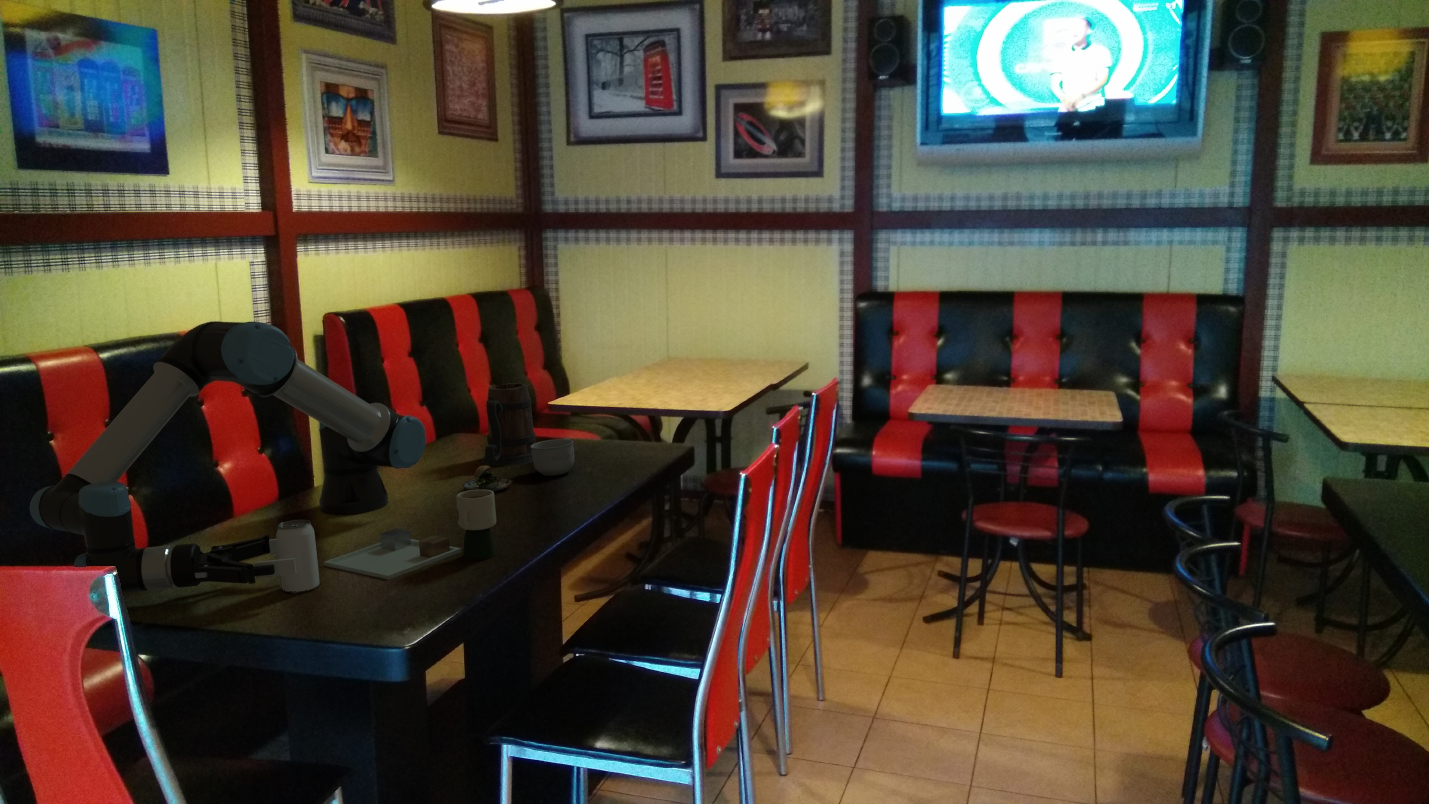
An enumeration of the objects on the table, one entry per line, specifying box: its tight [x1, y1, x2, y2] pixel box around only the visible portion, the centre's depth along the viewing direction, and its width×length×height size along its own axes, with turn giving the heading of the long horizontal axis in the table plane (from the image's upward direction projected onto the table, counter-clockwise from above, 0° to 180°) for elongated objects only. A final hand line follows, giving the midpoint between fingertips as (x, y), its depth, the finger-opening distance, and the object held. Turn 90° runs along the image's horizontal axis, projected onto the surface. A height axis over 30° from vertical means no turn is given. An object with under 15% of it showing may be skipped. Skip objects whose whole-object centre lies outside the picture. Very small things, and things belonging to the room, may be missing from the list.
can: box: [275, 519, 321, 592], centre depth 199 cm, size 6×6×12 cm
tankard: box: [481, 382, 537, 467], centre depth 295 cm, size 24×17×20 cm
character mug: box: [455, 490, 497, 561], centre depth 211 cm, size 11×7×13 cm, turn 166°
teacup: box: [531, 437, 575, 477], centre depth 281 cm, size 14×11×8 cm
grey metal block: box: [379, 528, 411, 551], centre depth 219 cm, size 4×4×3 cm
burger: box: [462, 460, 513, 492], centre depth 266 cm, size 12×12×8 cm
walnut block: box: [419, 535, 451, 558], centre depth 214 cm, size 4×4×3 cm
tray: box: [323, 538, 462, 581], centre depth 212 cm, size 18×18×2 cm
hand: (301, 554), depth 198 cm, fingers open, 13 cm apart
